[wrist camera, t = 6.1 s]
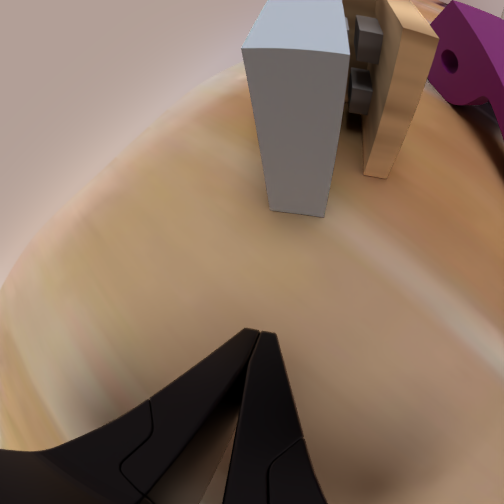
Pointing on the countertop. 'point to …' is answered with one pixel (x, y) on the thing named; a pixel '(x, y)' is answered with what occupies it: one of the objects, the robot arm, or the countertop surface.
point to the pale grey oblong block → (298, 98)
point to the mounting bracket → (469, 58)
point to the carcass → (386, 74)
